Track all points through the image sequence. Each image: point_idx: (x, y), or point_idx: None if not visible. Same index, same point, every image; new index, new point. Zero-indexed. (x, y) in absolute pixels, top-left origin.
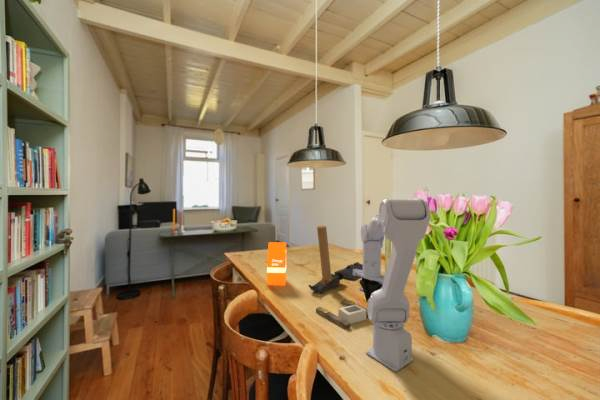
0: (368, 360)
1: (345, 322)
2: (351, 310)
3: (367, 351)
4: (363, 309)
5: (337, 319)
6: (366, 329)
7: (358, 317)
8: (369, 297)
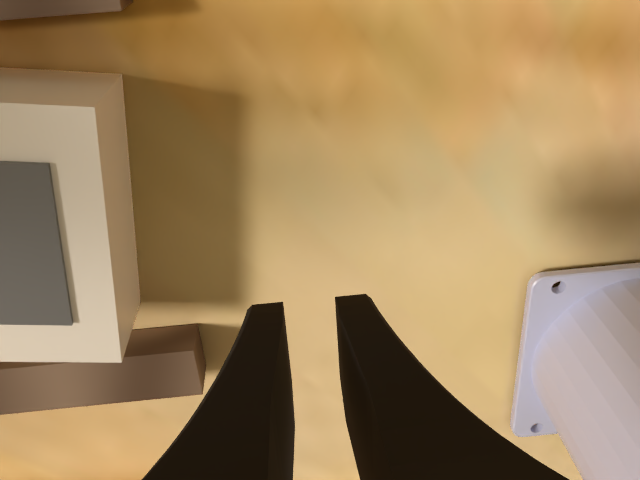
0: (557, 447)
1: (164, 374)
2: (41, 284)
3: (522, 429)
4: (59, 126)
5: (82, 398)
6: (295, 226)
7: (122, 206)
8: (286, 399)
